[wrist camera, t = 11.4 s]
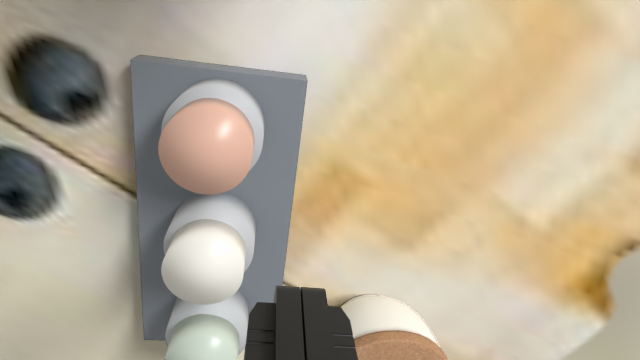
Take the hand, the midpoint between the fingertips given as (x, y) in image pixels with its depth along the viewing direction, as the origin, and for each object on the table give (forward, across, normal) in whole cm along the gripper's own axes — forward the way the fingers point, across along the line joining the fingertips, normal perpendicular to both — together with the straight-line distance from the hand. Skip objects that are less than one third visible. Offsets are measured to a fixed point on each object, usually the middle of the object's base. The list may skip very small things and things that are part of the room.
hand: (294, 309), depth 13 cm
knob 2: (+14, +4, +16) cm, 22 cm away
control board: (+19, +4, +8) cm, 21 cm away
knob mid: (+14, +4, +8) cm, 17 cm away
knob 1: (+14, +4, 0) cm, 15 cm away
